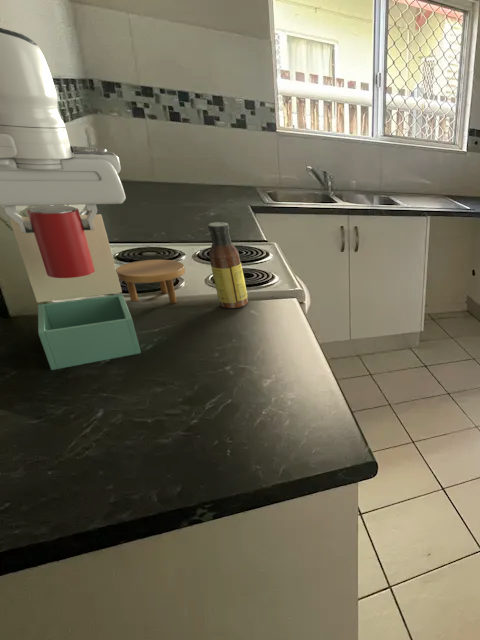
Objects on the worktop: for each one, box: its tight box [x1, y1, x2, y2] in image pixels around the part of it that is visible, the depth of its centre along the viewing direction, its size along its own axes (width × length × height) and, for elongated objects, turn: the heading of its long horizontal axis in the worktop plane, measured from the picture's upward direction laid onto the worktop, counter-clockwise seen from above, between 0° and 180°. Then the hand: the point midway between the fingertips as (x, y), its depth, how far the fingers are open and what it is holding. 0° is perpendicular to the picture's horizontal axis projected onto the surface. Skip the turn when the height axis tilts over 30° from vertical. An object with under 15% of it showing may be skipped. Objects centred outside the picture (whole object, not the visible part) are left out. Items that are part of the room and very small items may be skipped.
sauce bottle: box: [207, 221, 249, 309], centre depth 111 cm, size 6×6×20 cm
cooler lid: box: [8, 213, 123, 304], centre depth 90 cm, size 15×13×1 cm
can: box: [26, 205, 95, 278], centre depth 82 cm, size 6×6×11 cm
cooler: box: [37, 293, 142, 371], centre depth 89 cm, size 15×13×8 cm
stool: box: [116, 259, 186, 304], centre depth 113 cm, size 13×13×8 cm
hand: (59, 231), depth 81 cm, fingers closed on can, 6 cm apart
